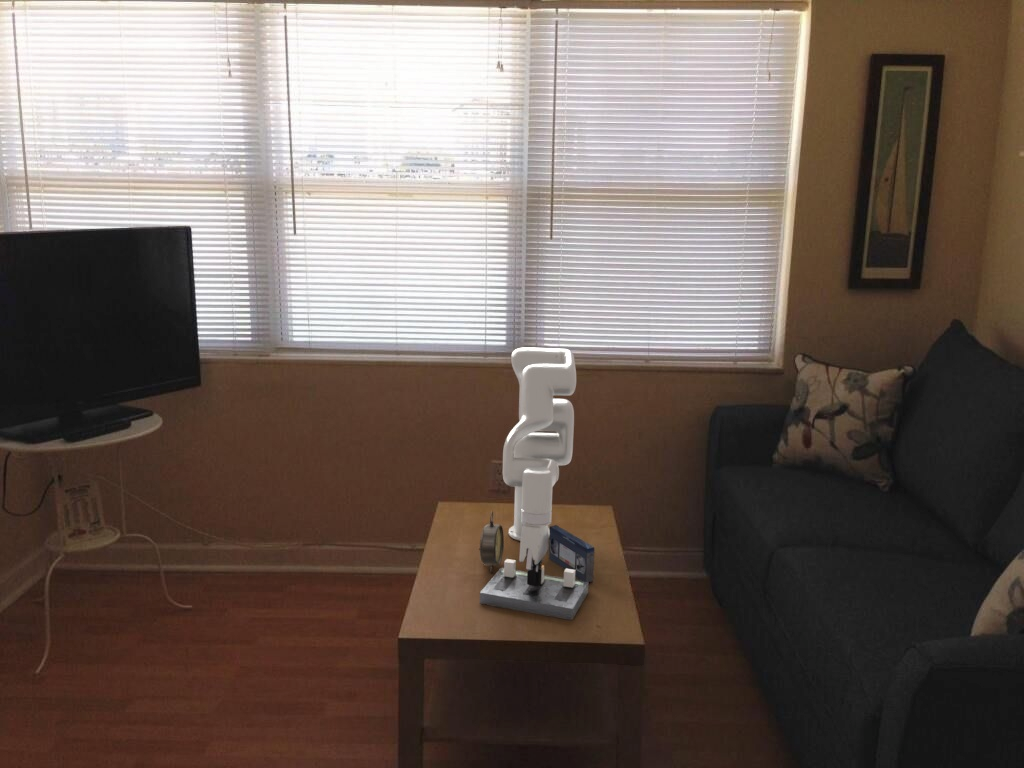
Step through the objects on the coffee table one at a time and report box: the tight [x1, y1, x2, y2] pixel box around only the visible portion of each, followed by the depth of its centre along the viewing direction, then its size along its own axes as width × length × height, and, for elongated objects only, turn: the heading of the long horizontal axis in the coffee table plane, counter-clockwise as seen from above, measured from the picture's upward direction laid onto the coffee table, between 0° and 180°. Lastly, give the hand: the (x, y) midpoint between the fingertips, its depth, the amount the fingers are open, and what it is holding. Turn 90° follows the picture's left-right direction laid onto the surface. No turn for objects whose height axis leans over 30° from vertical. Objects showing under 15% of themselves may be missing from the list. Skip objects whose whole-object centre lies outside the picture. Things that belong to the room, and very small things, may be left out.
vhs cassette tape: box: [548, 524, 595, 583], centre depth 248 cm, size 18×3×10 cm, turn 29°
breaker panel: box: [479, 567, 589, 621], centre depth 232 cm, size 16×24×3 cm, turn 71°
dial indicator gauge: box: [478, 510, 505, 574], centre depth 248 cm, size 11×5×16 cm, turn 168°
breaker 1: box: [503, 558, 517, 578], centre depth 237 cm, size 2×2×4 cm
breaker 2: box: [563, 568, 576, 588], centre depth 232 cm, size 2×2×4 cm
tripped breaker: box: [541, 564, 545, 584], centre depth 233 cm, size 2×2×4 cm
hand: (534, 584), depth 230 cm, fingers closed
